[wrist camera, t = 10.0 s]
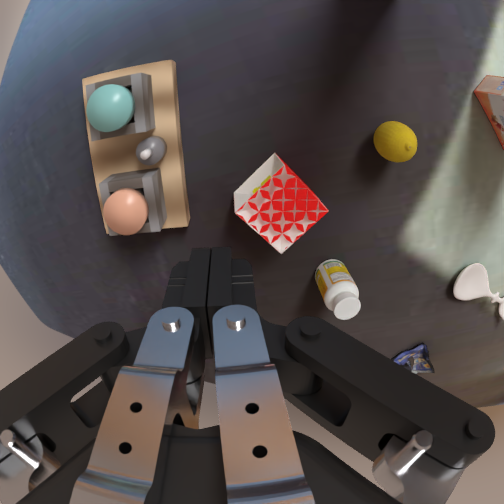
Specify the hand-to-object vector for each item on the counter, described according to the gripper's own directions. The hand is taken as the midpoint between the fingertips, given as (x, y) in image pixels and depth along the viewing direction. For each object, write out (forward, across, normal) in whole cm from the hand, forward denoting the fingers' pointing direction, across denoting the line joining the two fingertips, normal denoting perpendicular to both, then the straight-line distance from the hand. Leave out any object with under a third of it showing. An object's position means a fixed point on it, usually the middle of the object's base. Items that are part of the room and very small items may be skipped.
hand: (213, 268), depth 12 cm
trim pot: (+28, +9, 0) cm, 29 cm away
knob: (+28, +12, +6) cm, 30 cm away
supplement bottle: (+30, -16, +21) cm, 40 cm away
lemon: (+31, -22, -1) cm, 38 cm away
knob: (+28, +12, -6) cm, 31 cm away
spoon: (+31, -58, +30) cm, 72 cm away
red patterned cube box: (+31, -6, +8) cm, 33 cm away
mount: (+31, +12, 0) cm, 33 cm away
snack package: (+30, -40, +48) cm, 69 cm away
